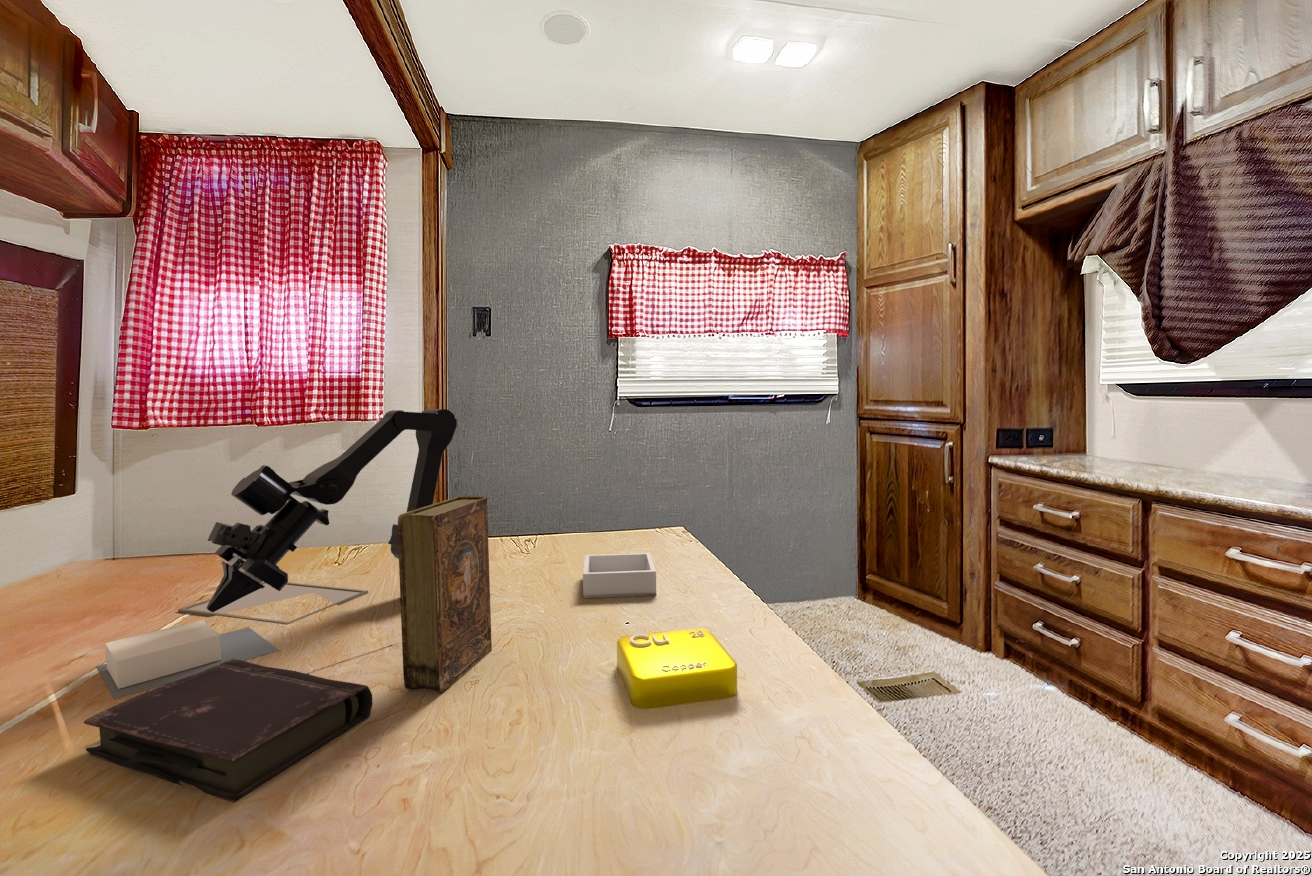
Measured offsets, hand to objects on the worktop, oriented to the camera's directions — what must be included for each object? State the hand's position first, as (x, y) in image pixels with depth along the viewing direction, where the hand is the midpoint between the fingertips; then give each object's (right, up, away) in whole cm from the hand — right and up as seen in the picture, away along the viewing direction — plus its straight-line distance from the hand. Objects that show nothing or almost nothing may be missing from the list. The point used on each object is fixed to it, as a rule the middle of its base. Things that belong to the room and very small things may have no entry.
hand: (209, 610), depth 95 cm
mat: (-2, -7, -2) cm, 8 cm away
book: (+41, -7, -6) cm, 42 cm away
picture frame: (-6, -6, +26) cm, 27 cm away
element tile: (+75, -7, -10) cm, 76 cm away
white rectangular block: (0, -5, 0) cm, 5 cm away
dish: (+64, -4, +33) cm, 72 cm away
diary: (+20, -9, -23) cm, 32 cm away
